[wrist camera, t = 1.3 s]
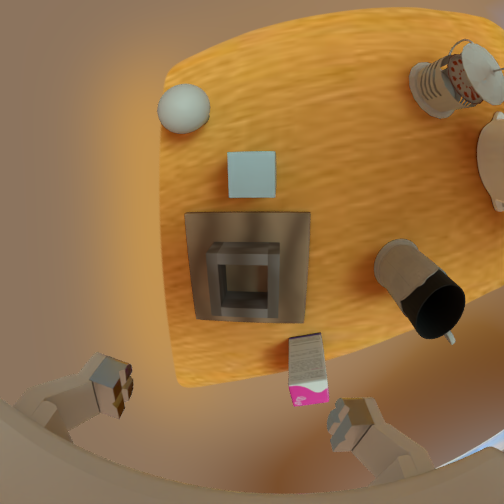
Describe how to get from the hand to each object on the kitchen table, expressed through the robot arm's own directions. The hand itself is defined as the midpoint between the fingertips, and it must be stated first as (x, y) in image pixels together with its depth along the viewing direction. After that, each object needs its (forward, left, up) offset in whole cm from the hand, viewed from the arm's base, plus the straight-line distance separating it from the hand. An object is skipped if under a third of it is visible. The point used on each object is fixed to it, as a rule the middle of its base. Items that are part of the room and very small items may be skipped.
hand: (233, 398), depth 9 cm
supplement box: (-7, +23, -32) cm, 40 cm away
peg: (+1, -7, -32) cm, 32 cm away
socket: (+3, +8, -32) cm, 33 cm away
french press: (-27, -23, -32) cm, 47 cm away
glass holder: (-23, +9, -32) cm, 40 cm away
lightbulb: (+9, -15, -32) cm, 36 cm away
